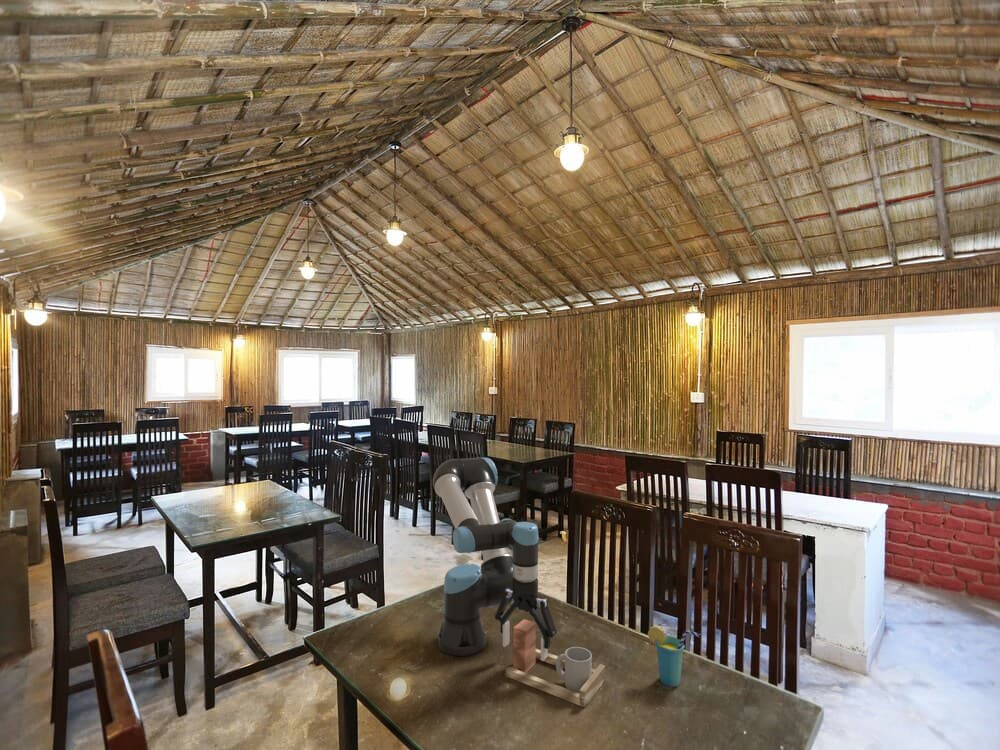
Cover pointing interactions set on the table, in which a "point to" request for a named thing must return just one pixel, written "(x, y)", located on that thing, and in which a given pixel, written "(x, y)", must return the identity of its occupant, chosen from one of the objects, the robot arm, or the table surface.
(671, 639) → the cup
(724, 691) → the table surface
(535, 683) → the frame
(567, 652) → the cup
